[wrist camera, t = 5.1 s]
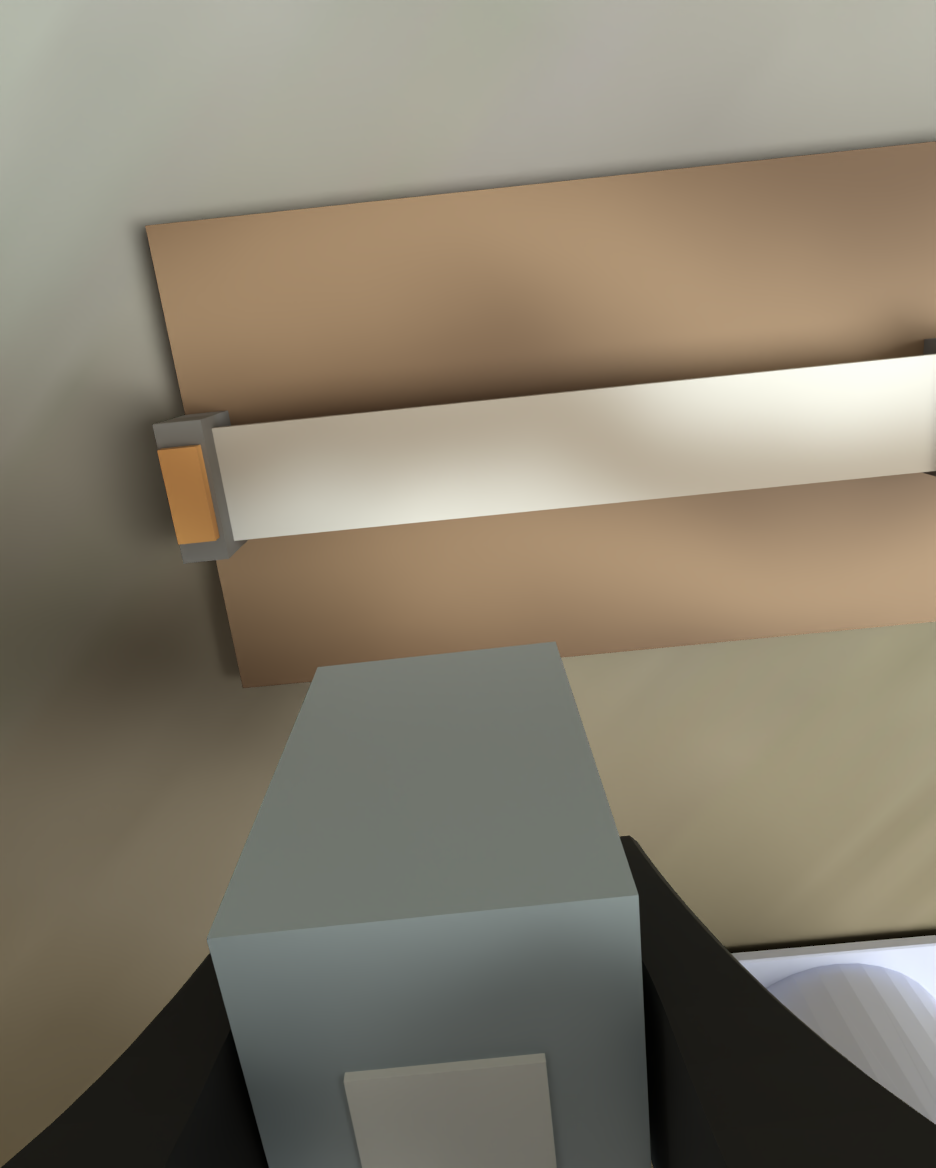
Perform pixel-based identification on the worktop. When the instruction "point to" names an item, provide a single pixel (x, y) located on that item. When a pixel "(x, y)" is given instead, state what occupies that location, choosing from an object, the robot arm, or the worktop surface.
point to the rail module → (438, 928)
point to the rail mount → (561, 412)
